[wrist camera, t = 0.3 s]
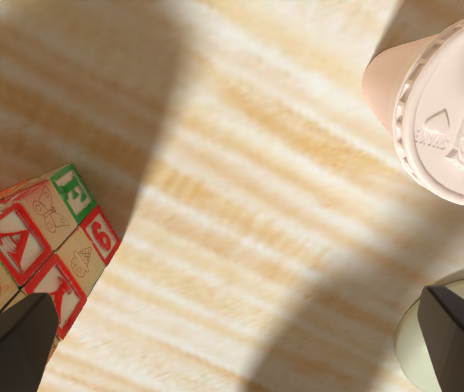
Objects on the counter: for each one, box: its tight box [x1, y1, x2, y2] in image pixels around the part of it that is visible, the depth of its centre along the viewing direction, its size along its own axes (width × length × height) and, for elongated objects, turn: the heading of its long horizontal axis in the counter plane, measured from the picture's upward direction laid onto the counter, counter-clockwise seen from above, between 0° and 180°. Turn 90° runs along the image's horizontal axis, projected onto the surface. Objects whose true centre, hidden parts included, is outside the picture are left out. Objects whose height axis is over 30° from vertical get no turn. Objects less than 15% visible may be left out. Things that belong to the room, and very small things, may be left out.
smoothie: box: [362, 19, 464, 205], centre depth 14 cm, size 6×6×14 cm
